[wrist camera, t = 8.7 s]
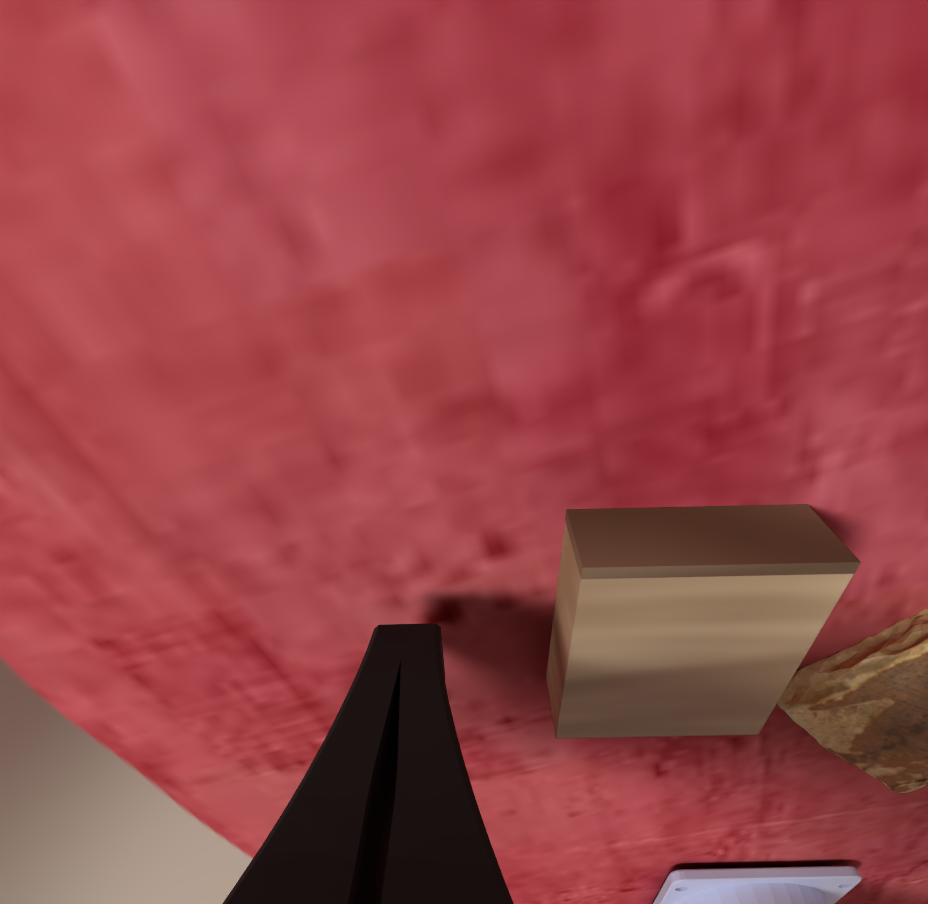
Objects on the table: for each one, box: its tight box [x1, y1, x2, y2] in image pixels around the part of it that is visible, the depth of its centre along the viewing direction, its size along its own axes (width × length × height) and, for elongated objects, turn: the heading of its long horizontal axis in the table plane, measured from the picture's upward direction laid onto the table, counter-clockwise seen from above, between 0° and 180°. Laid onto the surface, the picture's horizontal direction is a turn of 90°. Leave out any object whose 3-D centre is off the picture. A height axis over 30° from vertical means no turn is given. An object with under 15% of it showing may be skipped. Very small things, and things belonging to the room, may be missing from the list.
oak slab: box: [546, 504, 861, 738], centre depth 11 cm, size 2×5×6 cm
